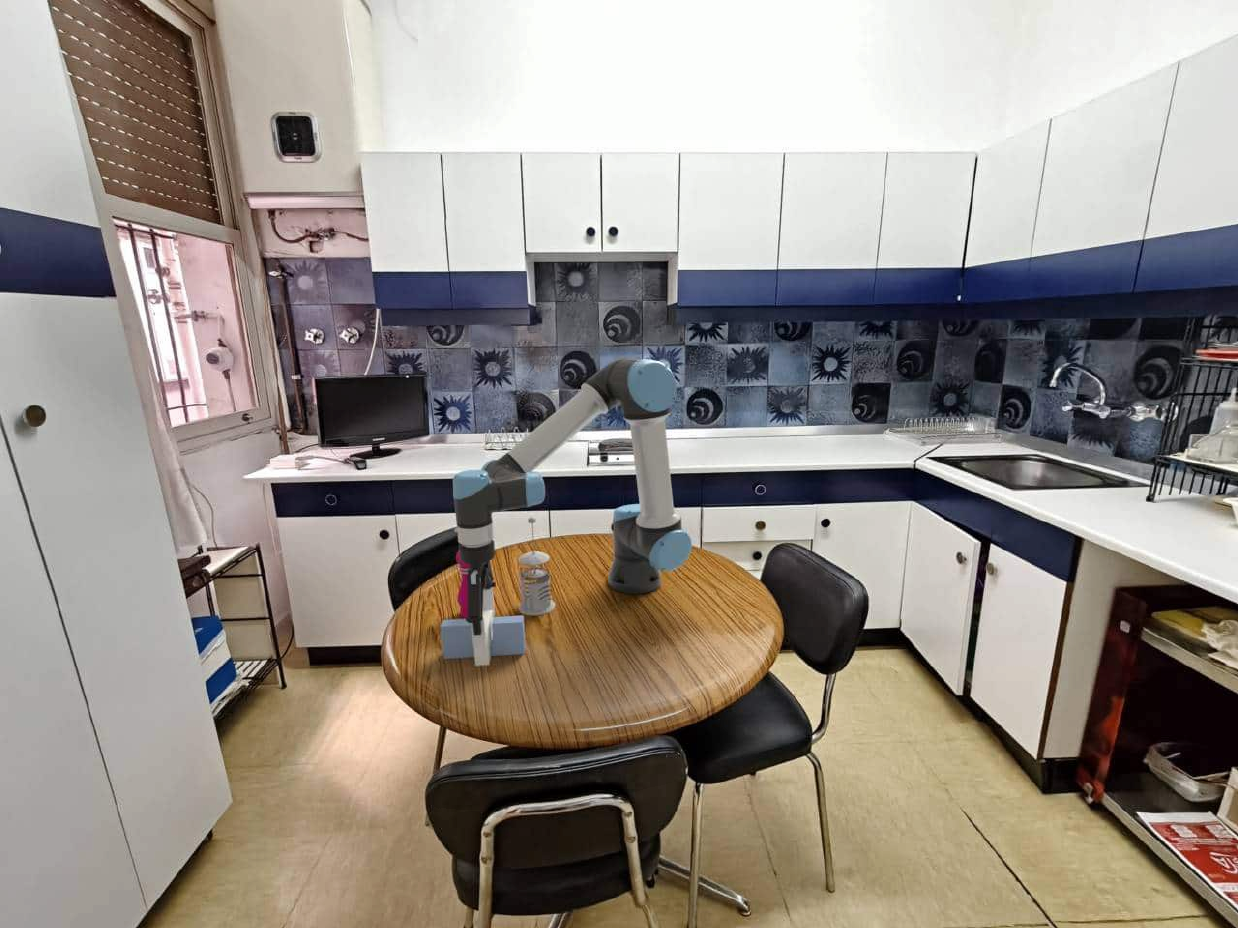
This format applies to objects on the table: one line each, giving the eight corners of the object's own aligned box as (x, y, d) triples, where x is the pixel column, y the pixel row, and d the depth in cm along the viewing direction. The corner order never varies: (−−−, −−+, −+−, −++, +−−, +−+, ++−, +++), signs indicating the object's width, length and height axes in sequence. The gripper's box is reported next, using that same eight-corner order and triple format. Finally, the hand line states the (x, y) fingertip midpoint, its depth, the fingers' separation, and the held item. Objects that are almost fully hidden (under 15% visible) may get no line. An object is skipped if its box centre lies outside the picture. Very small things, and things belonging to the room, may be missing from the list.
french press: (562, 601, 148) (558, 513, 142) (538, 621, 137) (533, 528, 132) (531, 595, 152) (526, 509, 146) (506, 614, 141) (500, 523, 136)
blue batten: (525, 646, 127) (523, 615, 125) (524, 653, 124) (522, 622, 122) (446, 651, 125) (443, 619, 123) (443, 658, 122) (440, 626, 120)
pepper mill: (479, 621, 138) (473, 547, 134) (453, 618, 140) (446, 545, 135) (491, 607, 145) (486, 537, 140) (466, 605, 146) (460, 535, 142)
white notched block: (482, 641, 129) (479, 610, 127) (495, 640, 129) (492, 609, 128) (475, 665, 119) (472, 633, 118) (489, 665, 120) (486, 632, 118)
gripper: (469, 522, 130) (476, 603, 135) (445, 566, 106) (456, 662, 111) (501, 521, 131) (507, 601, 136) (485, 564, 106) (493, 660, 111)
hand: (484, 629), depth 123 cm, fingers open, 13 cm apart
